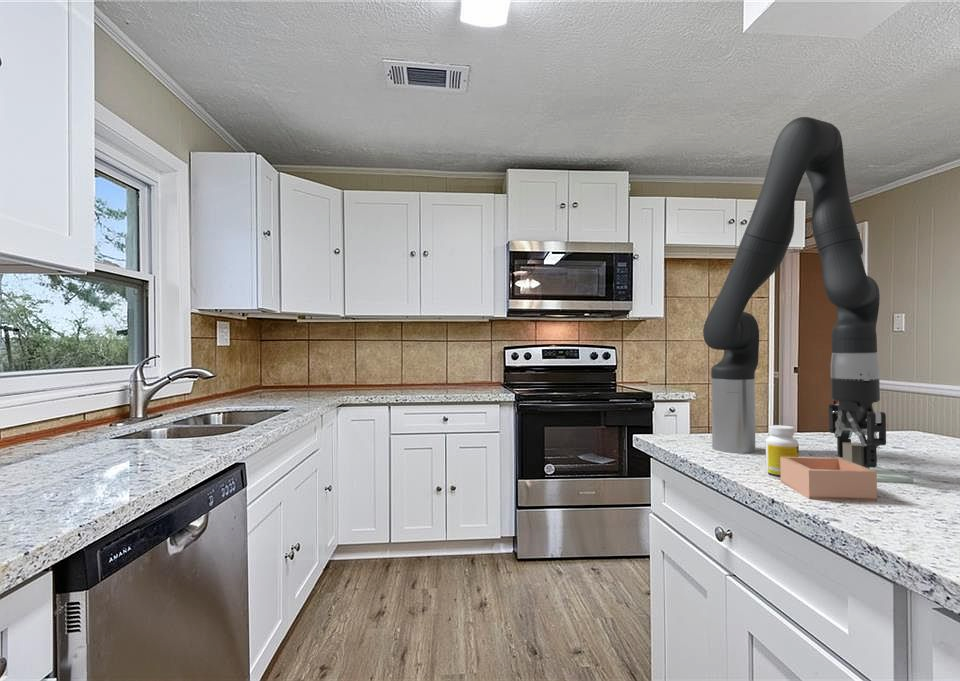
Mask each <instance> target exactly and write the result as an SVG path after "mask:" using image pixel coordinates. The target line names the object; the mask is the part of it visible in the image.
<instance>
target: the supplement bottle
mask: <svg viewBox="0 0 960 681" xmlns="http://www.w3.org/2000/svg"><path fill="white" fill-rule="evenodd" d="M769 434H770V436H768V437H767V438H766V439H765V476H767V477H768V478H772V479H775V480H780V481H781V468H780V457H800V455H799V454H800V453H799V452H800V451H799V450H800V449H799V448H800V447H799V446H800V445H799V444H800V443H799V441H798V439H796V438H794V437H793V436H794V435H795V427H794V426H790V425H779V424H773V425H769Z"/></svg>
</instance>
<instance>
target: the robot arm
mask: <svg viewBox="0 0 960 681" xmlns="http://www.w3.org/2000/svg"><path fill="white" fill-rule="evenodd" d="M842 139H843V138H842V135H841V131H840V130H839V128H838V127H837V126H835V124H832V123H830V122H827V121H824V120H821V119H817V118H813V117H808V116H801V117H800V116H799V117H797V118H795V119H793V120H791V121H789V122H788V123H786V125H785V126H784V127H783V128H782V129H781V131H780V133H779V134H778V137H777V139H776V141H775V143H774V146H773V149H772V152H771V156H770V160H769V163H768V166H767V171H766V174H765V177H764V181H763V185H762V187H761V190H760V193H759V195H758V196H757V201H756V202H755V205H754V209H753V212H752V214H751V217H750V219H749V222H748V224H747V226H746V229H745V230H744V233H743V236H742V238H741V239H740V244H739V246H738V248H737V251H736V253H735V257H734V260H733V262H732V265H731V266H730V269H729V271H728V274H727V276H726V278H725V281H724V283H723V285H722V288H721V289H720V292H719V293H718V296H717V298H716V299H715V301H714V303H713V305H712V307H711V309H710V311H709V313H708V315H707V317H706V319H705V322H704V325H703V330H702V332H703V333H702V335H703V341H704V342H705V344H706V345H707V346H708V347H709V348H711V349H713V350H717V351H723V356H722V359H721V360H719V361H718V362H717V363H715V364H714V365H712V367H711V369H710V370H711V371H710V375H711V376H710V377H711V437H712V438H711V440H712V441H711V443H712V445H711V446H712V447H711V448H712V450H714V451H718V452H722V453H728V454H754V453H756V450H757V449H756V448H757V446H756V397H755V396H756V393H755V390H756V389H755V387H756V384H755V379H756V378H755V375H756V374H755V373H756V370H757V368H758V365H759V356H760V354H759V351H760V350H759V349H760V330H759V329H760V328H759V324H758V322H757V319H756V318H755V317H754V316H753V315H752V314H751V313H749V312H747V311H745V309H746V306H747V305H748V302H749V301H750V300H751V298H752V296H753V295H754V293H755V292H757V291H758V289H759V288H760V287H761V286H762V285H763V284H764V283H766V281H767V280H768V279H769V278H770V277H771V276H772V275H773V274H774V273H775V272H776V271H777V270H778V268H779V266H781V263H782V261H783V259H784V257H785V255H786V253H787V251H788V249H789V247H790V244H791V242H792V239H793V235H794V229H795V204H796V203H795V202H796V196H797V193H798V190H799V186H800V184H801V181H802V180H803V176H804V175H806V176H807V179H808V180H809V183H810V186H811V190H812V198H813V201H812V202H813V203H812V204H813V205H812V213H811V214H812V215H811V227H812V234H813V239H814V240H815V245H816V248H817V251H818V255H819V257H820V260H821V271H822V272H821V273H822V282H823V287H824V292H825V294H826V297H827V298H828V300H829V302H830V303H831V304H832V305H833V306H835V307H836V309H837V310H836V323H835V324H834V326H833V327H832V330H831V359H830V392H831V393H830V394H831V395H830V397H831V399H832V400H833V401H837V402H838V403H829V404H828V417H829V418H828V420H829V432H830V434H834V437H835V438H836V441H837V443H836V444H837V447H836V449H837V451H836V452H837V456H838V458H842V459H843V442H847V443H852V439H851V438H852V435H853V433H854V435H855V436H857V437H858V439H859V443H861V444H862V446H861V464H862V466H864V467H876V466H878V459H877V458H878V455H877V452H878V451H877V449H878V447H880V446H886V445H887V423H886V422H887V418H886V417H887V416H886V415H887V414H886V413H885V412H884V411H874V407H873V403H878V402H879V401H880V400H881V397H880V396H881V393H880V392H881V391H880V387H881V386H880V384H881V383H880V362H879V358H878V338H877V337H878V336H877V329H876V328H877V324H878V319H879V318H878V316H879V309H880V288H879V285H878V283H877V282H876V280H875V279H874V278H872V277H870V276H869V275H867V272H866V269H865V265H864V262H863V259H862V258H863V257H862V255H863V254H864V247H863V241H862V238H861V235H860V232H859V229H858V225H857V223H856V219H855V216H854V212H853V208H852V205H851V201H850V197H849V196H850V194H849V190H848V189H849V188H848V184H847V176H846V168H845V160H844V147H843V145H844V144H843V140H842ZM877 434H878V435H877Z"/></svg>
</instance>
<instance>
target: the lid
mask: <svg viewBox="0 0 960 681" xmlns="http://www.w3.org/2000/svg"><path fill="white" fill-rule="evenodd" d="M861 446H862V444H861V442H851V443H847V442H843V458H842V459H845V460H847V461H850V462H852V463H855V464H858V465H860V466H862V464H861ZM863 467H864V466H863ZM865 468H868V469H871V470H873V471H876V472H877V483H901V482H912V483H911V484H913V483H914V478H911V477H909V476H906V475H903V474H900V473H898V472H895V471H891V470H889V469H887V468H883V467H881V466H878V465H877V466H876V467H865Z"/></svg>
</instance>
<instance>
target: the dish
mask: <svg viewBox="0 0 960 681" xmlns="http://www.w3.org/2000/svg"><path fill="white" fill-rule="evenodd" d="M780 468H781V480H780V483H781V484H782V485H784V486H786V487H787V488H790V489H792V490H793V491H794V492H797V494H800V495H801V496H804V497H805V498H806V499H808V500H826V501H859V502H861V501H862V502H878V482H877V472H876V471H873V470H871V469H868V468H865V467H863V466H860V465H858V464H855V463H852V462H850V461H847V460H845V459H843V458H841V457H821V456H820V457H818V456H816V457H815V456H810V457H809V456H799V457H780Z"/></svg>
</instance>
